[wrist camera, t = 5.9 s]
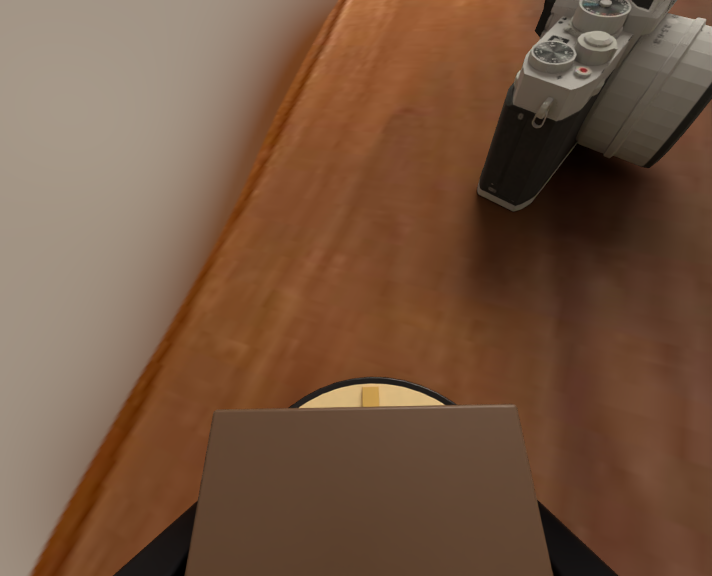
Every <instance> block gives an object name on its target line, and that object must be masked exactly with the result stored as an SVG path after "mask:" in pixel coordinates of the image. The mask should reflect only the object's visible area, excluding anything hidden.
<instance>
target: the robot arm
mask: <svg viewBox="0 0 712 576" xmlns="http://www.w3.org/2000/svg"><path fill="white" fill-rule="evenodd" d="M197 503H198V501H197V502H196V503H194V504H193V505H192V506H191V507H190V508H189V509H188V510H187V511H185V512H184V513H183V514H182V515H181V516H180V517H179V518H178V519H176V520H175V521H174V522H173V523H172V524H171V525H170V526H169V527H167V528H166V529H165V530H164V531H163V532H162V533H161V534H160V535H158V536H157V537H156V538H155V539H154V540H153V541H152V542H150V543H149V544H148V545H147V546H146V547H145V548H144V549H143V550H141V551H140V552H139V553H138V554H137V555H136V556H135V557H134V558H132V559H131V560H130V561H129V562H128V563H127V564H126V565H125V566H123V567H122V568H121V569H120V570H119V571H118V572H117V573H115V574H114V575H113V576H185V570H186V565H187V559H188V553H189V548H190V542H191V537H192V531H193V525H194V520H195V514H196V508H197ZM537 503H538V507H539V512H540V517H541V521H542V526H543V530H544V535H545V540H546V544H547V549H548V554H549V558H550V563H551V567H552V572H553V576H618V575H617V574H616V573H615V572H614V571H613V570H612V569H611V568H610V567H609V566H607V565H606V564H605V563H604V562H603V561H602V560H601V559H600V558H599V557H598V556H597V555H596V554H595V553H594V552H593V551H591V550H590V549H589V548H588V547H587V546H586V545H585V544H584V543H583V542H582V541H581V540H580V539H579V538H578V537H577V536H575V535H574V534H573V533H572V532H571V531H570V530H569V529H568V528H567V527H566V526H565V525H564V524H563V523H562V522H561V521H559V520H558V519H557V518H556V517H555V516H554V515H553V514H552V513H551V512H550V511H549V510H548V509H547V508H546V507H545V506H543V505H542V504H541V503H540V502H539V501H538V500H537Z"/></svg>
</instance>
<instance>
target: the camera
mask: <svg viewBox="0 0 712 576" xmlns="http://www.w3.org/2000/svg"><path fill="white" fill-rule="evenodd" d="M676 1H677V0H545V3H544V10H543V12H542V15H541V17H540V19H539V22H538V24H537V27H536V29H535V32H536V33H537V34H538V35H539V37H540V41H539V42H538V43H537V44H535V45H534V46H533V47H532V49H531V50H530V51H529V52H528V53H527V55H526V57H525V60H524V63H523V66H522V69H521V70H520V71H519V72H518V73H517V75H516V78H515V81H514V83H513V84H512V85H511V86H510V88H509V89H508V92H507V96H506V99H505V102H504V105H503V108H502V111H501V114H500V117H499V121H498V124H497V127H496V130H495V133H494V136H493V139H492V142H491V146H490V149H489V152H488V155H487V158H486V162H485V165H484V168H483V170H482V173H481V176H480V180H479V183H478V189H477V193H478V194H479V195H480V196H482V197H485V198H487V199H489V200H491V201H493V202H495V203H497V204H499V205H501V206H503V207H505V208H507V209H509V210H511V211H518V210H520V209H522V208H524V207H526V206H527V205H529V204H530V203H532V201H533V200H534V199H535V198H536V196H537V195H538V194H539V192H540V191H541V190H542V189H543V187H544V186H545V185H546V183H547V182H548V181H549V180H550V178H551V177H552V176H553V174H554V173H555V172H556V170H557V169H558V168H559V166H560V165H561V164H562V163H563V161H564V160H565V159H566V157H567V156H568V155H569V153H570V152H571V151H572V149H573V148H574V147H575V145H576V144H577V143H578V144H580V145H582V146H585V147H587V148H590V149H592V150H595V151H597V152H600V153H603V156H605V157H607V158H611V157H612V156H615V157H618V158H620V159H623V160H625V161H628V162H631V163H633V164H636V165H638V166H641V167H645V168H650V167H651V166H652V165H654V164H655V163H656V162H658V161H659V160H660V159H661V158H662V157H663V156H664V155H665V154H666V153H667V152H668V151H669V150H670V149H671V147H672V146H673V145H674V144H675V143H676V142H677V141H678V140H679V138H680V137H681V136H682V135H683V134H684V133H685V131H686V130H687V129H688V128H689V127H690V125H691V124H692V123H693V122H694V121H695V119H696V118H697V117H698V116H699V114H700V113H701V112H702V110H703V109H704V108H705V107H706V105H707V104H708V103H709V102H710V100H711V99H712V27H711V26H707V25H705V23H706V19H703V18H696V19H695V20H694V19H690V18H686V17H682V16H678V15H674V14H669V13H667V12H668V11H669V10H670V9H671V7H672V6H673V5H674V3H675V2H676Z"/></svg>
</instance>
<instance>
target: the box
mask: <svg viewBox="0 0 712 576" xmlns="http://www.w3.org/2000/svg"><path fill="white" fill-rule="evenodd" d="M185 576H553V572H552V567H551V563H550V558H549V554H548V549H547V544H546V540H545V535H544V530H543V526H542V521H541V517H540V512H539V507H538V503H537V498H536V493H535V489H534V484H533V479H532V475H531V470H530V466H529V461H528V456H527V452H526V447H525V442H524V438H523V433H522V429H521V424H520V419H519V415H518V410H517V407H516V405H514V404H480V405H444V404H443V403H441V402H439V401H438V400H436V399H434V398H432V397H429V396H427V395H425V394H423V393H421V392H418V391H414V390H411V389H408V388H405V387H400V386H394V385H389V384H360V385H352V386H347V387H343V388H338V389H335V390H333V391H330V392H327V393H325V394H322V395H320V396H318V397H316V398H314V399H312V400H310V401H308V402H307V403H305V404H304V405H302V406H301V407H299V408H274V409H223V410H216V411H214V413H213V418H212V424H211V430H210V435H209V441H208V446H207V452H206V458H205V463H204V469H203V475H202V480H201V486H200V491H199V497H198V503H197V508H196V514H195V520H194V525H193V531H192V537H191V542H190V548H189V553H188V559H187V565H186V570H185Z"/></svg>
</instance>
